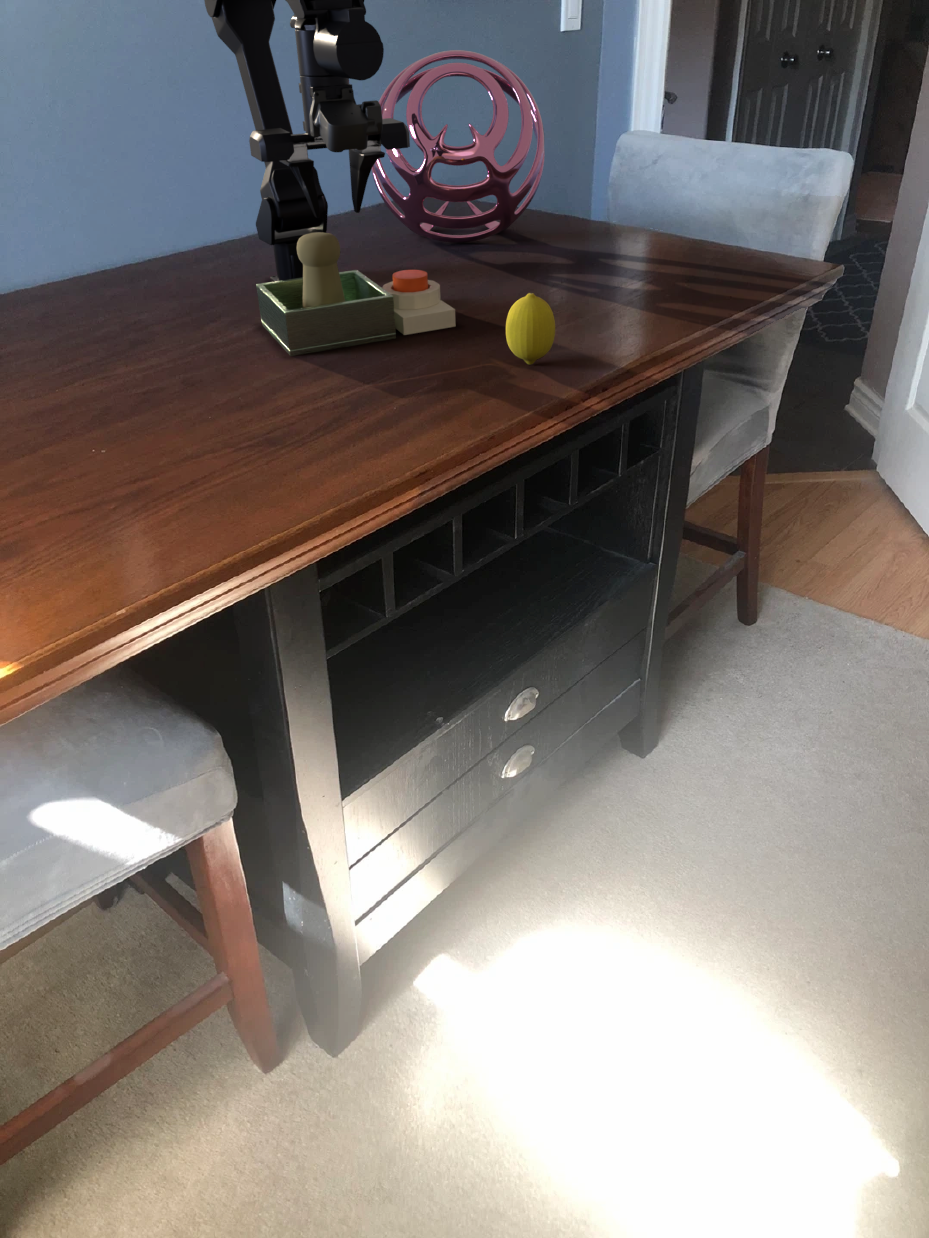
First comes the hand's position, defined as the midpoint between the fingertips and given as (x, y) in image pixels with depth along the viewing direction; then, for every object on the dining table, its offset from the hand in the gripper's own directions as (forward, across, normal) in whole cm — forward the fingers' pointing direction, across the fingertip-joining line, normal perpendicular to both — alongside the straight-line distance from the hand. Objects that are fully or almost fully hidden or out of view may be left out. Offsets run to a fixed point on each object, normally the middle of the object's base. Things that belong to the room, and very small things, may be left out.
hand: (337, 214), depth 125 cm
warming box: (+12, -5, -7) cm, 15 cm away
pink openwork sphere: (+12, +29, +29) cm, 43 cm away
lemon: (+12, +12, -30) cm, 35 cm away
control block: (+12, +6, -7) cm, 16 cm away
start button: (+8, +6, -8) cm, 13 cm away
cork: (+12, -5, -7) cm, 15 cm away
